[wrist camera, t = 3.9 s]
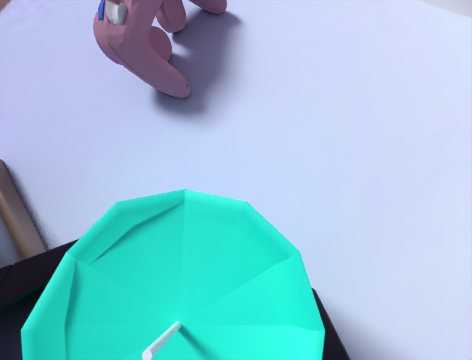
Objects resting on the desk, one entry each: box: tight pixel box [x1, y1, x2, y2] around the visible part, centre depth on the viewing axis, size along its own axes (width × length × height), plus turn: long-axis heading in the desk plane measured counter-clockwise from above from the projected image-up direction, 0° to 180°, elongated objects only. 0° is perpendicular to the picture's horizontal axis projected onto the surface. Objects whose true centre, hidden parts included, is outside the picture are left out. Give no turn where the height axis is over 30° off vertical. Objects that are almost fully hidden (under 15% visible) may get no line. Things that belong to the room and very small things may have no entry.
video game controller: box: [93, 0, 227, 98], centre depth 18 cm, size 10×5×7 cm, turn 163°
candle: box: [21, 189, 325, 360], centre depth 9 cm, size 6×6×12 cm
